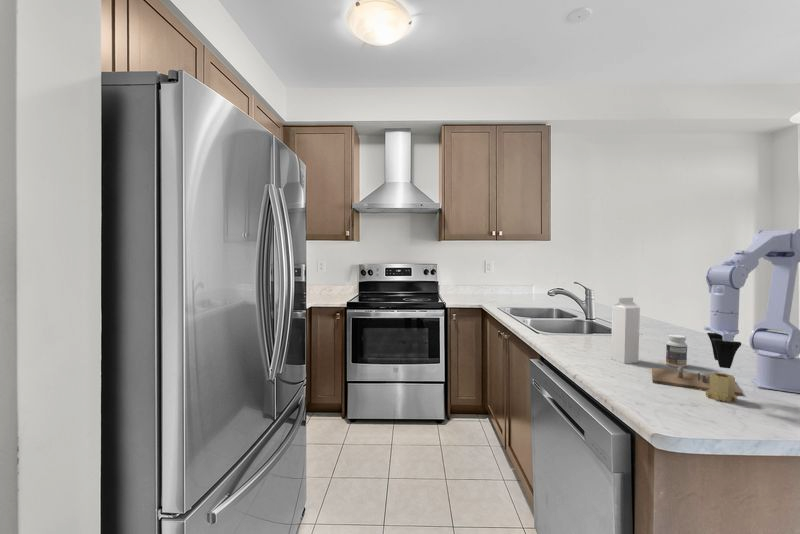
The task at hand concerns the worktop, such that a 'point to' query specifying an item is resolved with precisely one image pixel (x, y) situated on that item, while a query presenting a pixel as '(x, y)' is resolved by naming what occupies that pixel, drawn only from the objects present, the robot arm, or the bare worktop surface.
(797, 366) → the robot arm
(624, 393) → the worktop surface
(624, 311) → the milk
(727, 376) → the gear
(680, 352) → the pill bottle
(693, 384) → the carrier plate
